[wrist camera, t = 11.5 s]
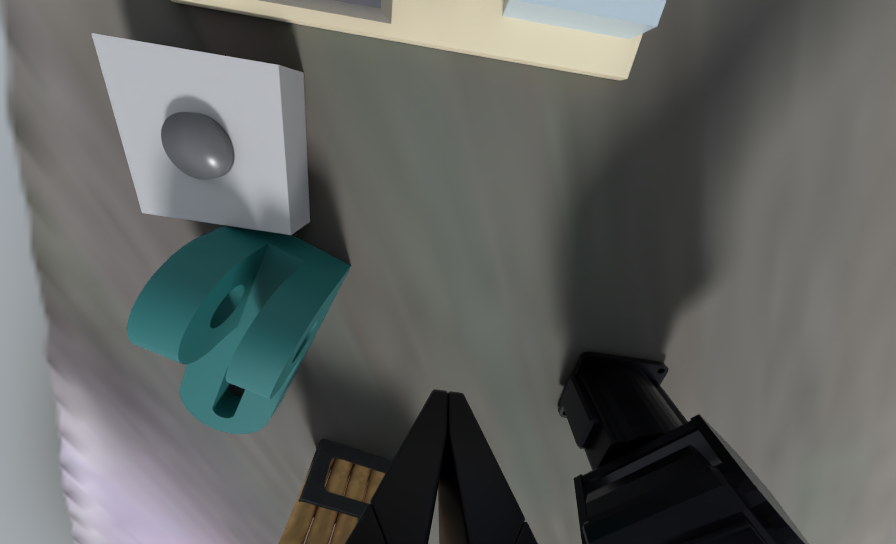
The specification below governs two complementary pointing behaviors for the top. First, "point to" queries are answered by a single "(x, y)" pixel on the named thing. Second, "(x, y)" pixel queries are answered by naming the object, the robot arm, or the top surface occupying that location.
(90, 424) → the top surface
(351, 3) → the frame
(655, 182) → the top surface
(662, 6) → the header 3pin
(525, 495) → the top surface
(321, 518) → the ammunition clip
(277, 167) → the grey knob block
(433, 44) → the board
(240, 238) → the bracket
